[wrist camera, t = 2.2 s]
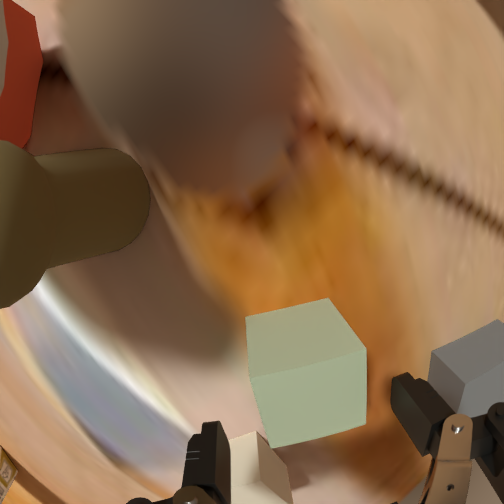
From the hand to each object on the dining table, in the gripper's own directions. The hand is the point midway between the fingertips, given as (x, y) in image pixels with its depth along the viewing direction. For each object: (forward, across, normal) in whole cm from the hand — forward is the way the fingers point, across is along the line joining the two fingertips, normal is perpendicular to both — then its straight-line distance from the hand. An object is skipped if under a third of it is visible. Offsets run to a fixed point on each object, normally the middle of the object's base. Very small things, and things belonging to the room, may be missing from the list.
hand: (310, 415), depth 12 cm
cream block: (+7, +6, +11) cm, 14 cm away
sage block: (+6, 0, 0) cm, 6 cm away
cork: (+6, +9, -11) cm, 16 cm away
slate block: (+6, -15, +8) cm, 18 cm away
